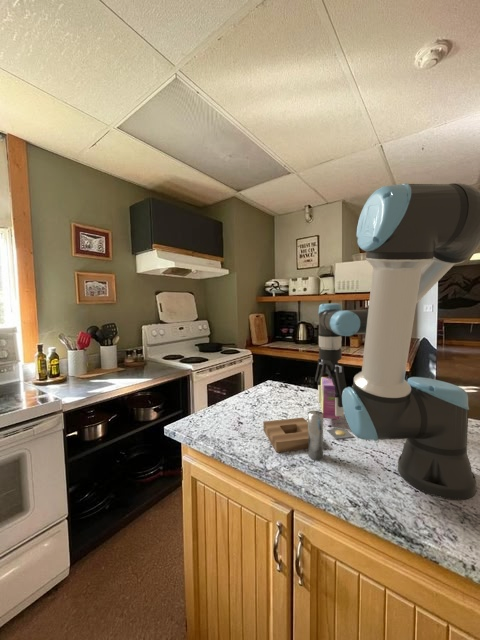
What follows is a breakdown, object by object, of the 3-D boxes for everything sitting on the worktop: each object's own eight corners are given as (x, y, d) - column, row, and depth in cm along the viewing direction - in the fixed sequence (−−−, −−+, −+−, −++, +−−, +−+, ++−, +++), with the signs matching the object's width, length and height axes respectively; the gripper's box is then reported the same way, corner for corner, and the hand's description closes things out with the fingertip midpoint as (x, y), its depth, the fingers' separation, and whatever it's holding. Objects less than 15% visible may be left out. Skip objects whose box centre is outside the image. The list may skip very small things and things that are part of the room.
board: (322, 446, 82) (322, 436, 82) (276, 452, 79) (276, 442, 79) (303, 426, 96) (303, 417, 95) (263, 430, 93) (263, 421, 93)
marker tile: (354, 437, 87) (354, 435, 87) (336, 439, 86) (336, 437, 86) (343, 428, 93) (343, 427, 93) (326, 430, 92) (326, 429, 92)
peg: (325, 458, 76) (325, 415, 75) (312, 460, 75) (311, 417, 74) (319, 451, 80) (318, 409, 79) (305, 452, 79) (305, 411, 78)
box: (340, 419, 94) (341, 385, 93) (322, 418, 95) (323, 384, 94) (336, 406, 104) (336, 375, 103) (320, 405, 105) (320, 375, 104)
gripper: (360, 353, 87) (360, 421, 88) (323, 342, 110) (323, 396, 112) (338, 355, 85) (338, 424, 87) (305, 343, 109) (306, 397, 111)
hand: (330, 408), depth 99 cm, fingers closed on box, 12 cm apart
